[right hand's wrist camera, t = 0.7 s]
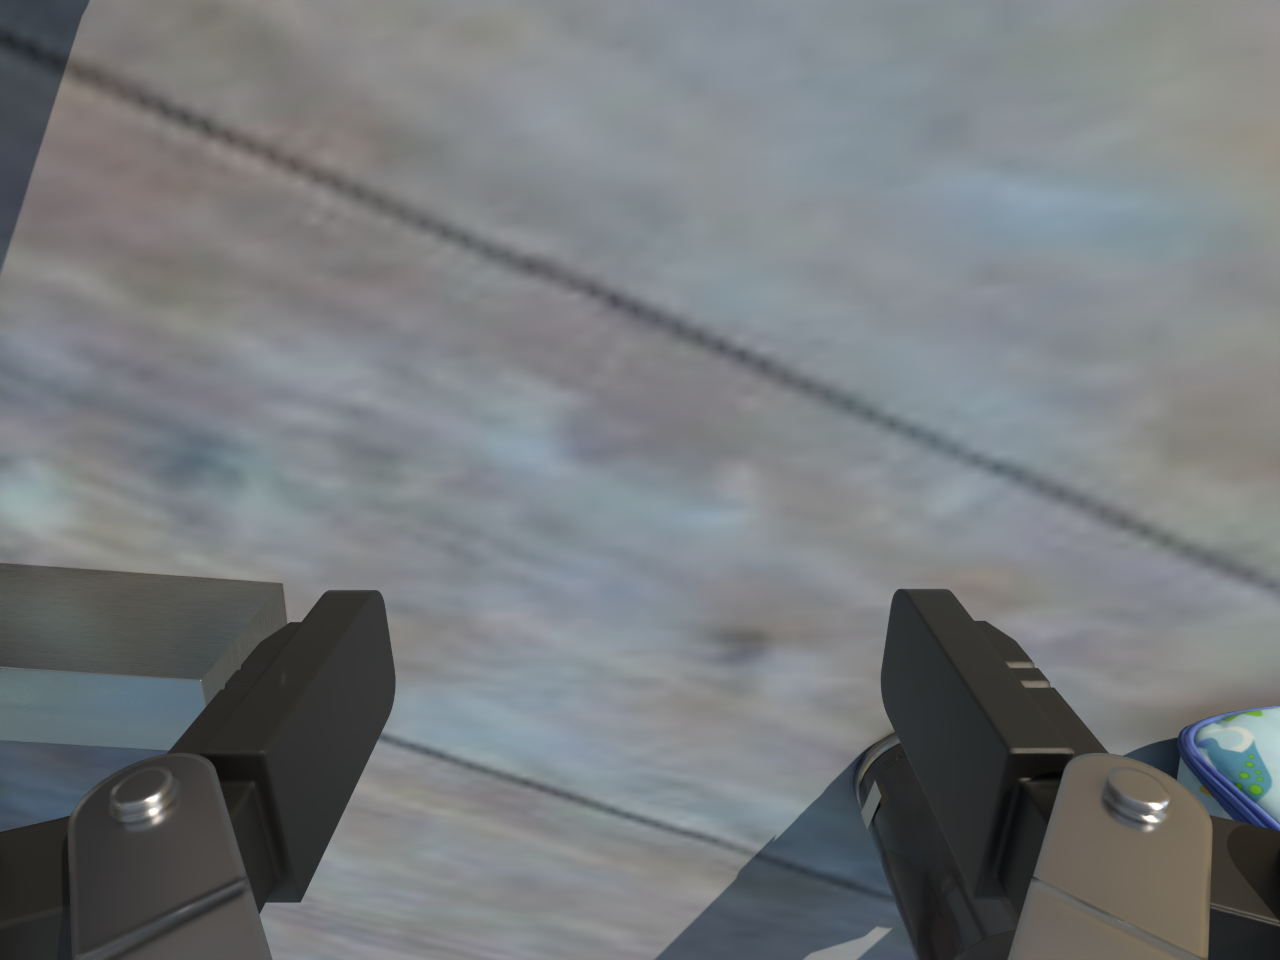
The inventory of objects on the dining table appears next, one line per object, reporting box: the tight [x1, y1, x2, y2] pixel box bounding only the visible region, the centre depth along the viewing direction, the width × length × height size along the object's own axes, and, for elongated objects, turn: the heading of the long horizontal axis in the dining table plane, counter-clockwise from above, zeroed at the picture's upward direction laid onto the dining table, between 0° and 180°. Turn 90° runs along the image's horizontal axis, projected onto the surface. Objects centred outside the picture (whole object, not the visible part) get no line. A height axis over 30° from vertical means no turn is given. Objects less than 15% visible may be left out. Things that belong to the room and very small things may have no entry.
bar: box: [0, 563, 287, 751], centre depth 40 cm, size 23×5×9 cm, turn 85°
